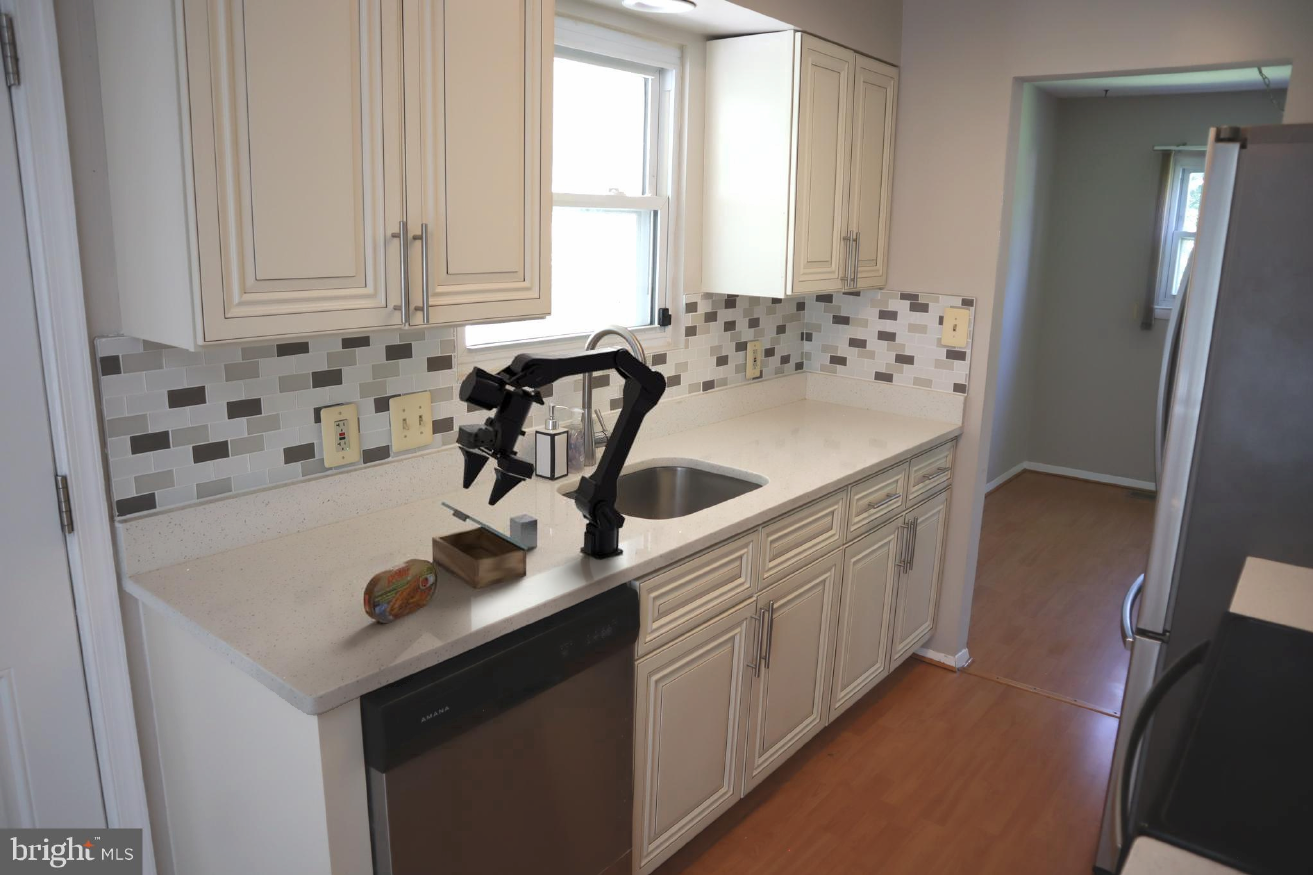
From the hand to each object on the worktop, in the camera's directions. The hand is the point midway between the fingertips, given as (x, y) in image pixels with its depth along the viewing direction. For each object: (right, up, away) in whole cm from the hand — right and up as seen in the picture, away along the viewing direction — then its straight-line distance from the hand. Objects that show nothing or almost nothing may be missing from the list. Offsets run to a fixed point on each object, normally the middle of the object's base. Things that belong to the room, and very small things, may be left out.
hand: (477, 496), depth 171 cm
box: (-1, -14, +6) cm, 15 cm away
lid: (0, -7, +4) cm, 8 cm away
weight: (+6, -11, +18) cm, 22 cm away
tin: (-10, -19, -14) cm, 26 cm away
